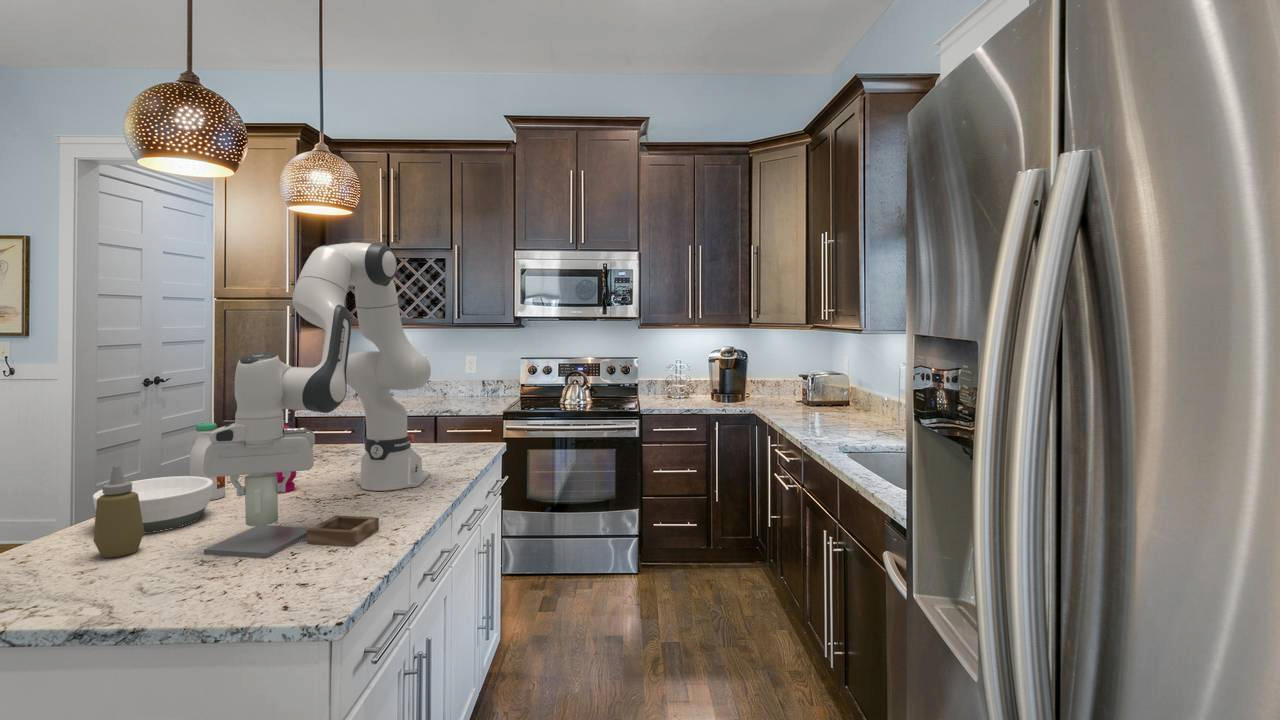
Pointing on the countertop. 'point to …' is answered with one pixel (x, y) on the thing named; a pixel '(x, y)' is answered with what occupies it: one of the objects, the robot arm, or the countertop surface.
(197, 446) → the milk bottle
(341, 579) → the countertop surface
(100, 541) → the squeeze bottle
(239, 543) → the charcoal tile
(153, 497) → the bowl
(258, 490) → the pale green mug
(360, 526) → the walnut holder
